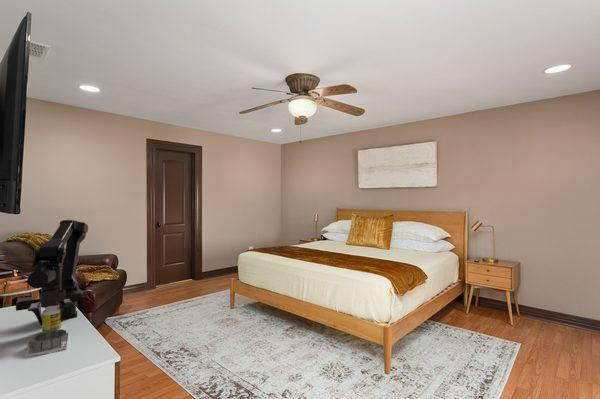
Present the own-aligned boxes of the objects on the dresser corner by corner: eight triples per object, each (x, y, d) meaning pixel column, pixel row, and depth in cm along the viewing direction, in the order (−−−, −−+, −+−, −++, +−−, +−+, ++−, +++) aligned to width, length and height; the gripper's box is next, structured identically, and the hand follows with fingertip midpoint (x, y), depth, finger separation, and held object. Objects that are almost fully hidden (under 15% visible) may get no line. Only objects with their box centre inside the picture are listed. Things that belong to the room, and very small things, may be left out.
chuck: (30, 342, 106) (30, 332, 106) (68, 335, 112) (68, 325, 111) (25, 358, 96) (25, 347, 96) (66, 349, 102) (66, 338, 101)
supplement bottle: (50, 334, 111) (50, 306, 111) (38, 333, 112) (37, 305, 112) (65, 327, 117) (64, 301, 116) (53, 326, 118) (52, 300, 118)
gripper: (12, 290, 102) (12, 338, 103) (82, 281, 113) (83, 325, 113) (18, 282, 112) (18, 326, 112) (82, 274, 122) (83, 315, 122)
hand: (51, 323), depth 114 cm, fingers closed on supplement bottle, 5 cm apart
